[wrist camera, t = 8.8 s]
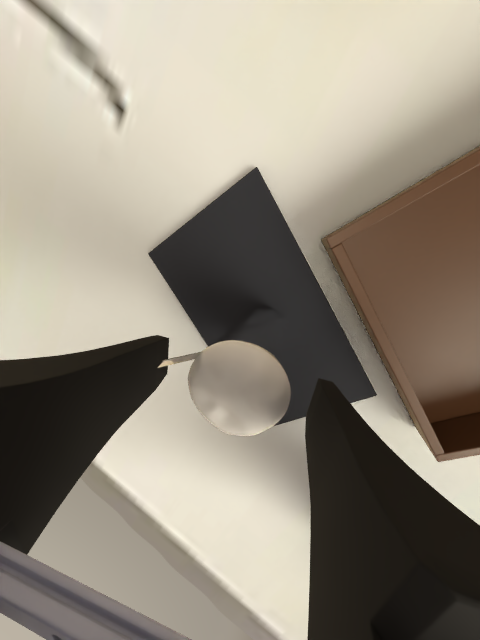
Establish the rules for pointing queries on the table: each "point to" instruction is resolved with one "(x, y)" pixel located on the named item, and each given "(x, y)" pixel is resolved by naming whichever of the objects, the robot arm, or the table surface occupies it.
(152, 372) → the robot arm
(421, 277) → the tray
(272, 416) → the milkshake
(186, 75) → the table surface
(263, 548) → the table surface
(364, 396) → the mouse pad
